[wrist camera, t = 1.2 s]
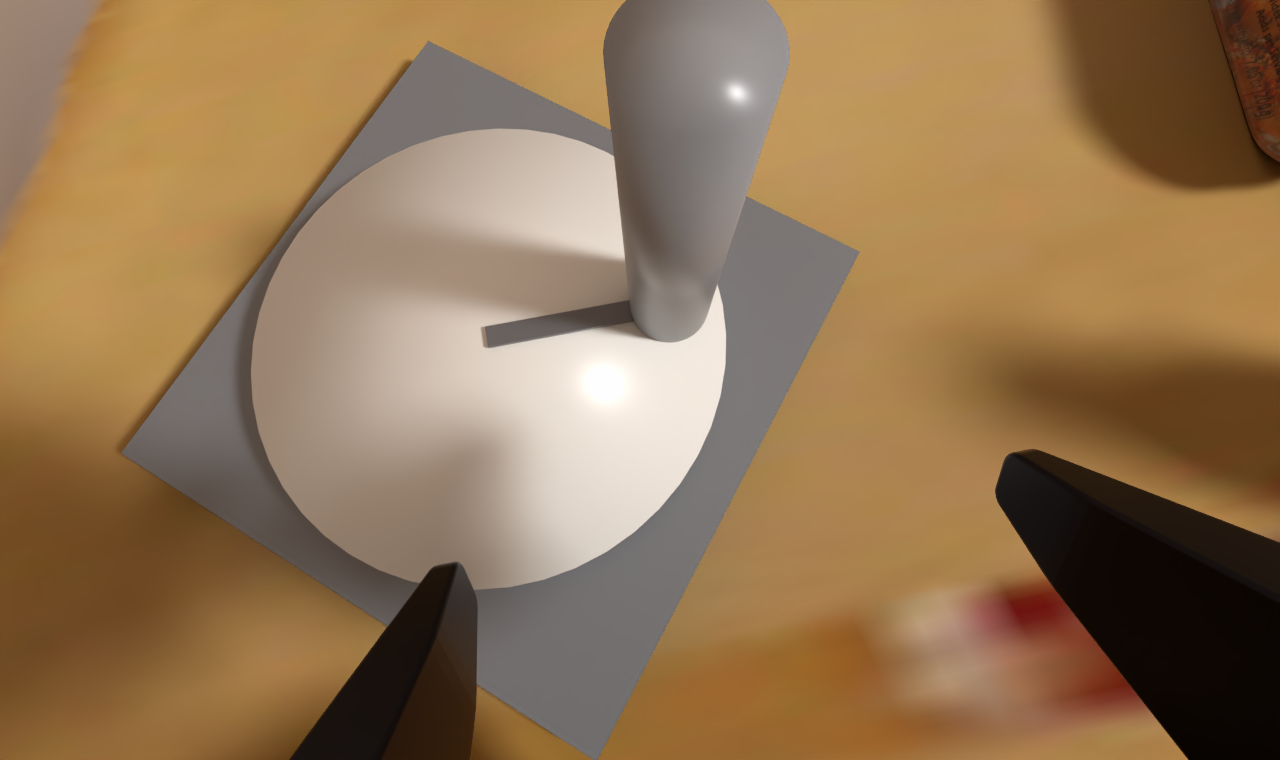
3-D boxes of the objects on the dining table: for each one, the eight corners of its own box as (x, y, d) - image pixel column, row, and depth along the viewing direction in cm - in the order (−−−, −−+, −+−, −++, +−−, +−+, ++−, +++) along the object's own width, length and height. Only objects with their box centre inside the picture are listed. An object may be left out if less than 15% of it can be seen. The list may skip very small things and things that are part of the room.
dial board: (600, 742, 20) (595, 764, 19) (154, 455, 23) (116, 453, 21) (846, 266, 24) (861, 249, 22) (440, 66, 26) (426, 37, 25)
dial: (576, 678, 19) (410, 1097, 6) (187, 433, 21) (-579, 337, 8) (796, 267, 22) (1014, -64, 9) (438, 88, 24) (184, -396, 11)
